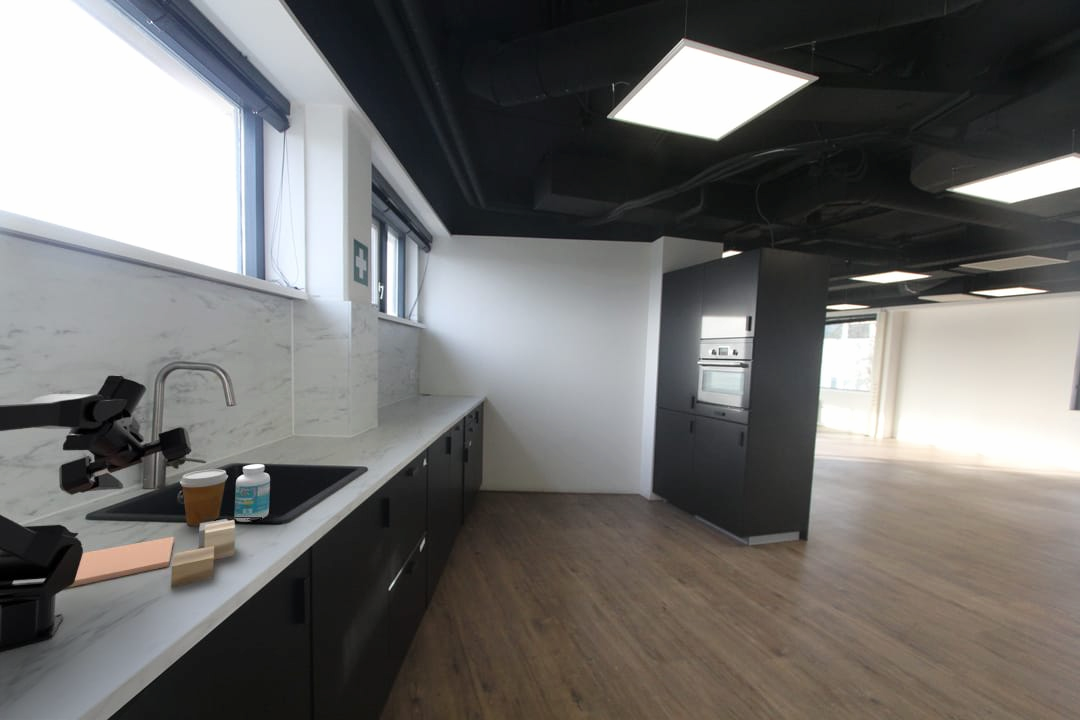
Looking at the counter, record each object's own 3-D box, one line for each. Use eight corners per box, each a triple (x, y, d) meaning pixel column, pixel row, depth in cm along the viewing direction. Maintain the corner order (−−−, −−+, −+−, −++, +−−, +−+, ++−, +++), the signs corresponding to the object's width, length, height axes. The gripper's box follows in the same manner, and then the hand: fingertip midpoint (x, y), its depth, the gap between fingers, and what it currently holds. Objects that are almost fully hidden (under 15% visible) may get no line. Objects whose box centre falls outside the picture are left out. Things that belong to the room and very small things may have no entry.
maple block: (234, 555, 88) (235, 527, 88) (203, 562, 85) (204, 532, 85) (233, 546, 92) (234, 519, 92) (204, 552, 88) (205, 524, 88)
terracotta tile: (168, 566, 82) (168, 561, 82) (63, 588, 74) (63, 582, 74) (173, 541, 93) (173, 536, 93) (82, 557, 84) (83, 552, 84)
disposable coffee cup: (168, 529, 99) (170, 479, 99) (193, 514, 109) (195, 469, 109) (213, 527, 101) (215, 478, 101) (234, 513, 111) (235, 468, 111)
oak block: (212, 578, 79) (213, 557, 79) (170, 588, 75) (171, 566, 75) (213, 565, 84) (214, 545, 84) (174, 574, 80) (174, 553, 80)
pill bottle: (226, 520, 105) (228, 468, 105) (253, 511, 113) (255, 461, 113) (250, 524, 104) (252, 471, 104) (275, 514, 111) (277, 464, 111)
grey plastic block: (227, 543, 93) (227, 525, 93) (198, 549, 90) (199, 530, 90) (226, 535, 97) (227, 518, 97) (199, 540, 94) (199, 523, 94)
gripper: (165, 389, 84) (197, 429, 95) (36, 426, 74) (88, 464, 86) (173, 432, 79) (206, 468, 90) (35, 477, 69) (91, 510, 81)
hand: (150, 476), depth 87 cm, fingers open, 9 cm apart
